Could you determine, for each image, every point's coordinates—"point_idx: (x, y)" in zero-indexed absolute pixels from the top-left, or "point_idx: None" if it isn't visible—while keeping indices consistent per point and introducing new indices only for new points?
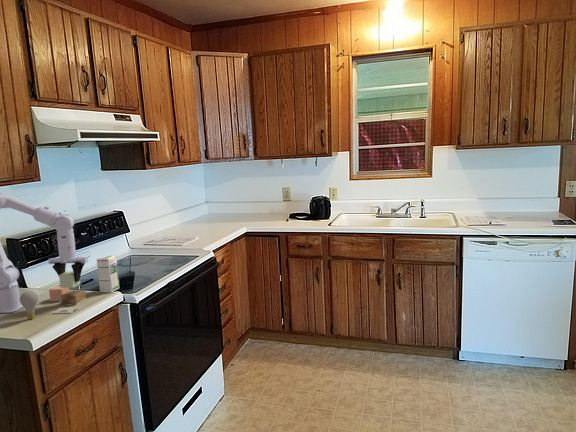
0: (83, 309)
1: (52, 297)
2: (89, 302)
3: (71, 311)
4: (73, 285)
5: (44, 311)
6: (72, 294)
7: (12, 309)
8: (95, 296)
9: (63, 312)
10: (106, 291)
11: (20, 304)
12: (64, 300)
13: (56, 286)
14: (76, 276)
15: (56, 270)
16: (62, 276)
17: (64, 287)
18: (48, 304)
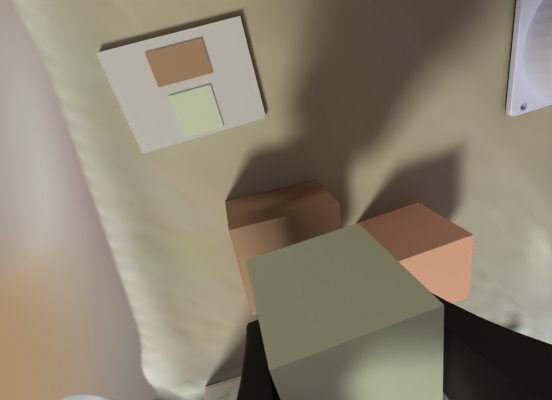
0: (95, 148)
1: (421, 216)
2: (186, 255)
3: (113, 71)
4: (249, 275)
5: (334, 53)
6: (271, 238)
7: (541, 6)
8: (240, 325)
9: (157, 38)
10: (234, 381)
11: (540, 106)
12: (307, 193)
13: (463, 289)
14: (243, 376)
15: (540, 355)
16: (389, 304)
17: (324, 234)
18: (399, 165)
